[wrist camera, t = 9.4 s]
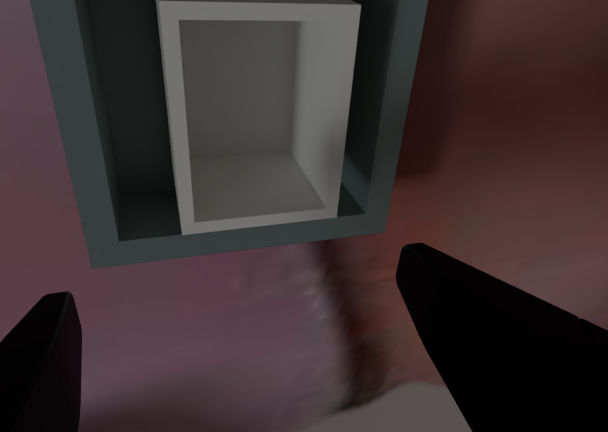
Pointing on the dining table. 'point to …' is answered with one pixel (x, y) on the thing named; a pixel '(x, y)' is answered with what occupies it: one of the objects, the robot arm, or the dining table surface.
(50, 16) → the big crate
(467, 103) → the dining table surface
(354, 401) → the dining table surface
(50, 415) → the robot arm
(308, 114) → the small crate
